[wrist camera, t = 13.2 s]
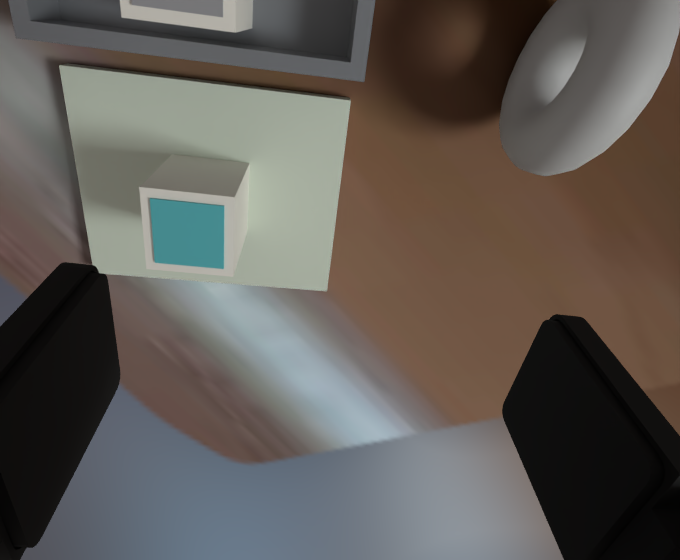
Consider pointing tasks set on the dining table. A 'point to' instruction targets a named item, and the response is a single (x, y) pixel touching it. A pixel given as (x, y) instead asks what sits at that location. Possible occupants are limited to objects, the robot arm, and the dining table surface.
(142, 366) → the dining table surface
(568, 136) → the donut
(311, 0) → the parts bin
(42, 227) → the dining table surface
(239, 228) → the teal label box
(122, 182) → the sage board
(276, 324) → the dining table surface
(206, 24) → the grey label box
